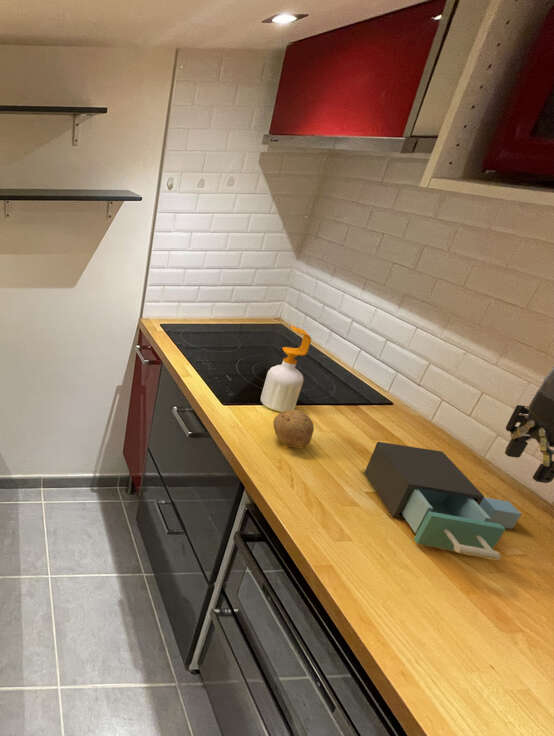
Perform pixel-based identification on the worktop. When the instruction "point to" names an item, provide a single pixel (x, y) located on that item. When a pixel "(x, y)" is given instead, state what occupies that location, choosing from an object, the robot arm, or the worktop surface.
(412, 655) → the worktop surface
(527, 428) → the robot arm
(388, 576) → the worktop surface
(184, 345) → the worktop surface
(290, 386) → the soap bottle
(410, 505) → the teal drawer
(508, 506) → the pale blue rectangular block
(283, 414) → the brown potato
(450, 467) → the dark grey drawer cabinet
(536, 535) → the worktop surface
